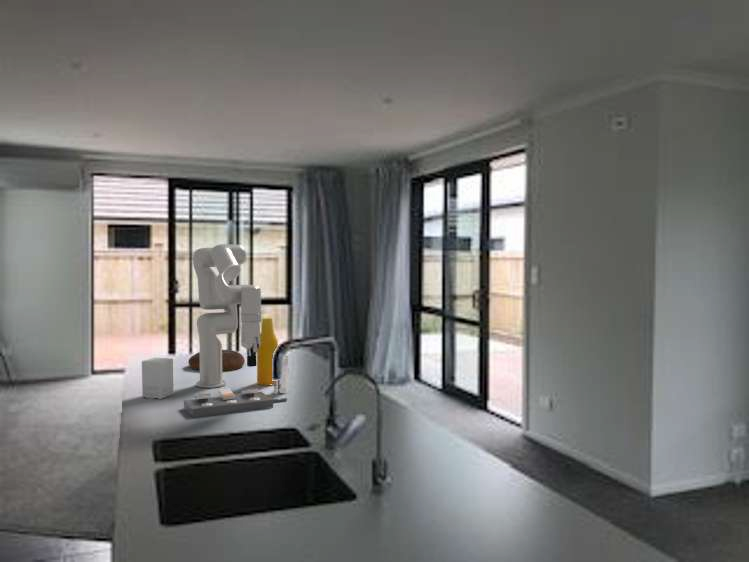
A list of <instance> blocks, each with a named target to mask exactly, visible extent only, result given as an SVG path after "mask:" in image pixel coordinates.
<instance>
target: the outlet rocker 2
mask: <svg viewBox="0 0 749 562" xmlns="http://www.w3.org/2000/svg"><path fill="white" fill-rule="evenodd" d="M255 392H259V390H258V388H257V387H256V388H249V389H248V388H247V389H244V390H241V391H240V393H241V394H246V393H255Z"/></svg>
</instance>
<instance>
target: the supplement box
mask: <svg viewBox="0 0 749 562" xmlns="http://www.w3.org/2000/svg"><path fill="white" fill-rule="evenodd" d="M141 383H142V384H141V388H142V389H141V390H142V392H141V393H142V395H141V396H142V397H141V398H143V397H145V398H144V399H154V398H158V399H157V400H162V399H164V398H167V396H168V397H171V396H173V395H174V359H173V358H166V357H152V358H151V357H150V358H148V359H144V360H142V361H141ZM172 394H173V395H172Z"/></svg>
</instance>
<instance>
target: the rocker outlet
mask: <svg viewBox="0 0 749 562" xmlns="http://www.w3.org/2000/svg"><path fill="white" fill-rule="evenodd" d="M211 397H212V394H211V393H203V394H197V395H195V396H194V399H202V398H211Z"/></svg>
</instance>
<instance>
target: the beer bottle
mask: <svg viewBox="0 0 749 562" xmlns="http://www.w3.org/2000/svg"><path fill="white" fill-rule="evenodd" d="M278 341H279V340H278V338H277V336H276V334H275V331H274V322H273V318H272V317H263V318H262V319H261V329H260V348H257V350H258V351H257V355H256V374H257V375H256V383H257V385H259V384H260V385H259V386H271V385H270V384H274V381H272V359H273V353H274V351H275V349H276V348H277V347H278V348H279V343H278Z"/></svg>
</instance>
